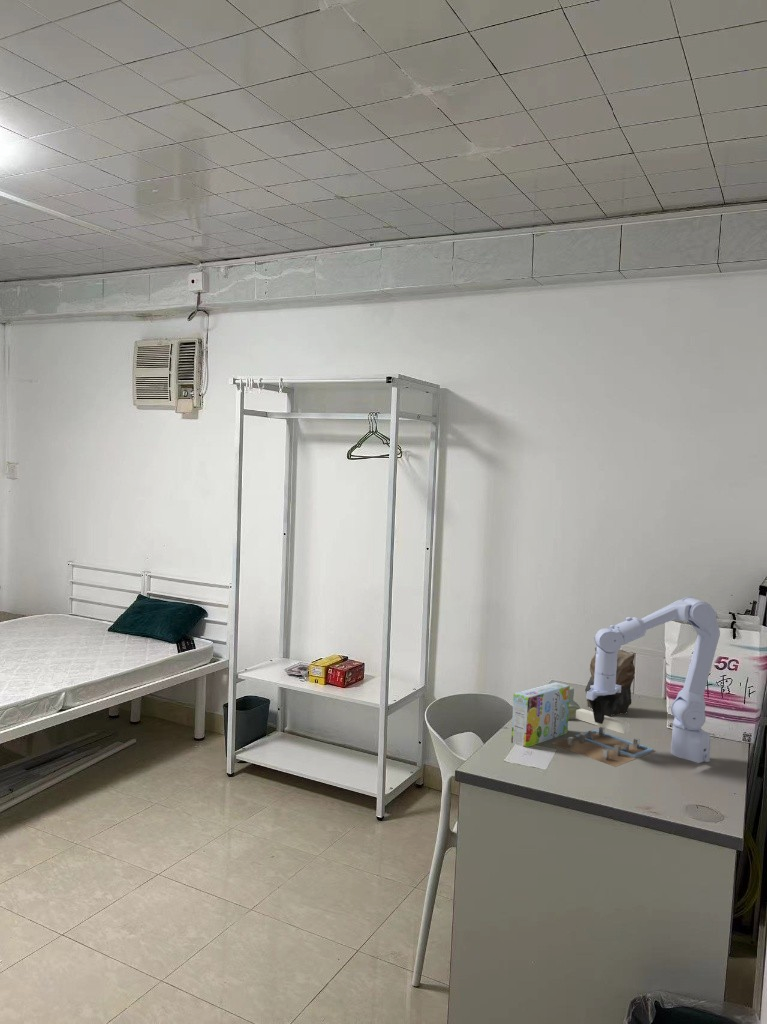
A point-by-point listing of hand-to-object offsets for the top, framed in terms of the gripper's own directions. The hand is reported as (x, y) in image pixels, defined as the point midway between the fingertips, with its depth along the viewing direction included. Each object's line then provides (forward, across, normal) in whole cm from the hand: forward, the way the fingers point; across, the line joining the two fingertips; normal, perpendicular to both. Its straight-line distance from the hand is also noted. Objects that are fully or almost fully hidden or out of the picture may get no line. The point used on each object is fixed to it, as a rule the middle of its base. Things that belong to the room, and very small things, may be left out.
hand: (602, 721), depth 208 cm
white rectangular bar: (+1, 0, 0) cm, 1 cm away
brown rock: (+9, -37, -21) cm, 43 cm away
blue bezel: (+8, -7, 0) cm, 10 cm away
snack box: (+9, +7, -15) cm, 19 cm away
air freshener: (+9, -17, -24) cm, 31 cm away
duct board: (+9, -2, 0) cm, 9 cm away
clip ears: (+9, -2, 0) cm, 9 cm away
